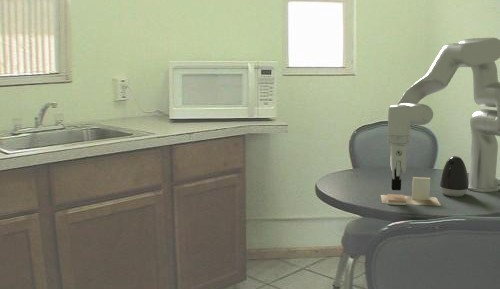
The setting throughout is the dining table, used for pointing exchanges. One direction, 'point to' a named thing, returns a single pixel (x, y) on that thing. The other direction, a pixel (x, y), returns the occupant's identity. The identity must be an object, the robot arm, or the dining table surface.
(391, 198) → the tile
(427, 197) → the tile
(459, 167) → the black rounded dome
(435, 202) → the cork mat
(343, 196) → the dining table surface
